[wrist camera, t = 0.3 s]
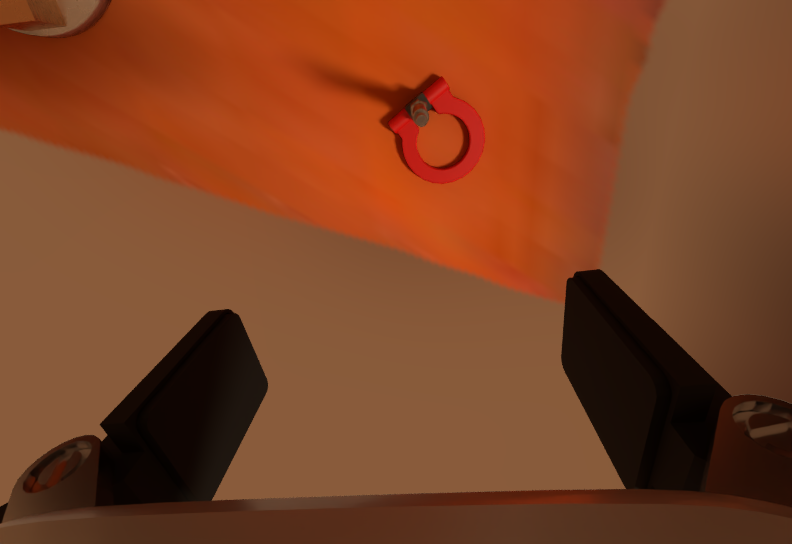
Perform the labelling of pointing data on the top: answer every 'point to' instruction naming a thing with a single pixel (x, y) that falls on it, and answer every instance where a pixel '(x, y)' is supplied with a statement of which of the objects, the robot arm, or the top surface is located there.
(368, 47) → the top surface
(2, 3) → the beige piece
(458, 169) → the tow hook
